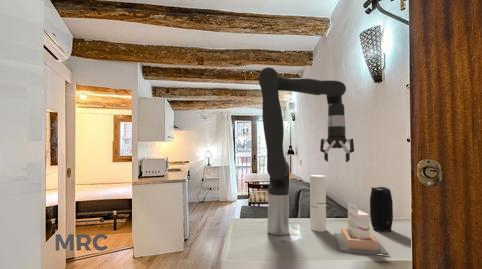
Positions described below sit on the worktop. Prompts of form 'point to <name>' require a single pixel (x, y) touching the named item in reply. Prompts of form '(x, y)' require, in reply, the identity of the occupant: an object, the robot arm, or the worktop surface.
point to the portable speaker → (381, 209)
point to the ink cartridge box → (358, 223)
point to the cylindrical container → (318, 202)
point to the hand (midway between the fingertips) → (336, 161)
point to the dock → (358, 244)
